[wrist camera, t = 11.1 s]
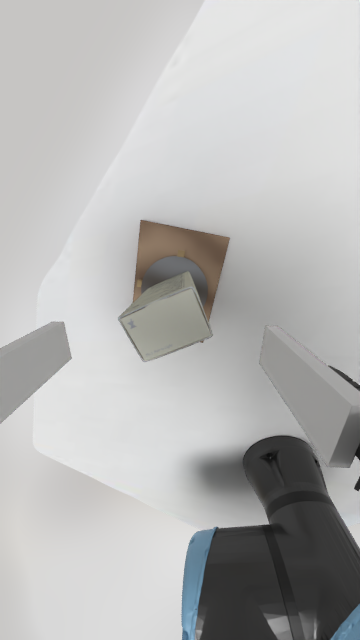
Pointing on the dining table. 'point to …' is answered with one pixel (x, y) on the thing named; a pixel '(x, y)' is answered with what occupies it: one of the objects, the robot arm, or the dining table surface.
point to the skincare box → (166, 318)
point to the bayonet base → (185, 242)
